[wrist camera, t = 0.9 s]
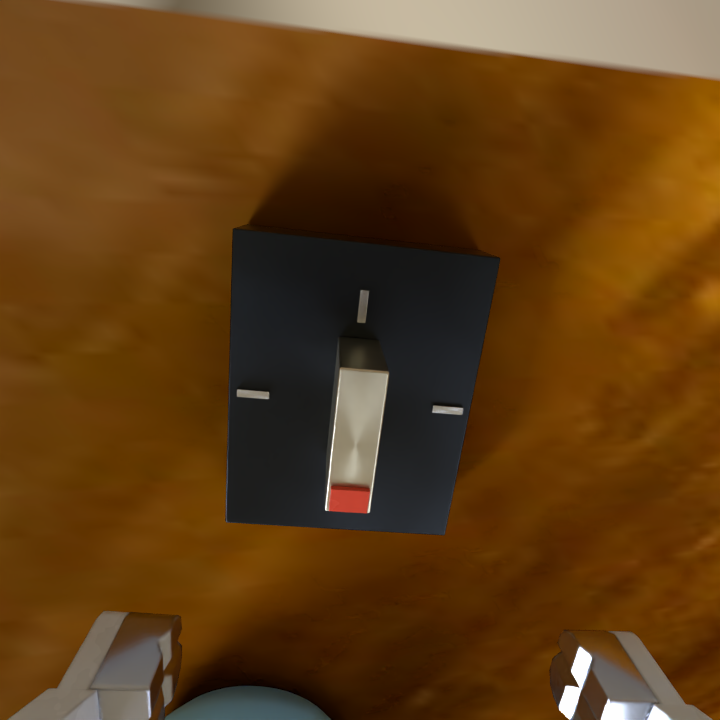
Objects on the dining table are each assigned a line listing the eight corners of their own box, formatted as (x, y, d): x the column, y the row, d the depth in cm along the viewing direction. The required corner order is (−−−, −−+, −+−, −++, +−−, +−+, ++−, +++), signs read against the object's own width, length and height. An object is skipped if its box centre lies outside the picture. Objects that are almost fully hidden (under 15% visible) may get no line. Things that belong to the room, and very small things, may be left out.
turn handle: (338, 336, 20) (339, 370, 16) (379, 339, 21) (390, 374, 17) (325, 458, 22) (324, 515, 18) (364, 461, 23) (370, 518, 19)
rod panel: (245, 223, 22) (231, 228, 19) (480, 250, 23) (502, 258, 20) (237, 487, 26) (224, 524, 23) (433, 500, 27) (445, 537, 24)
